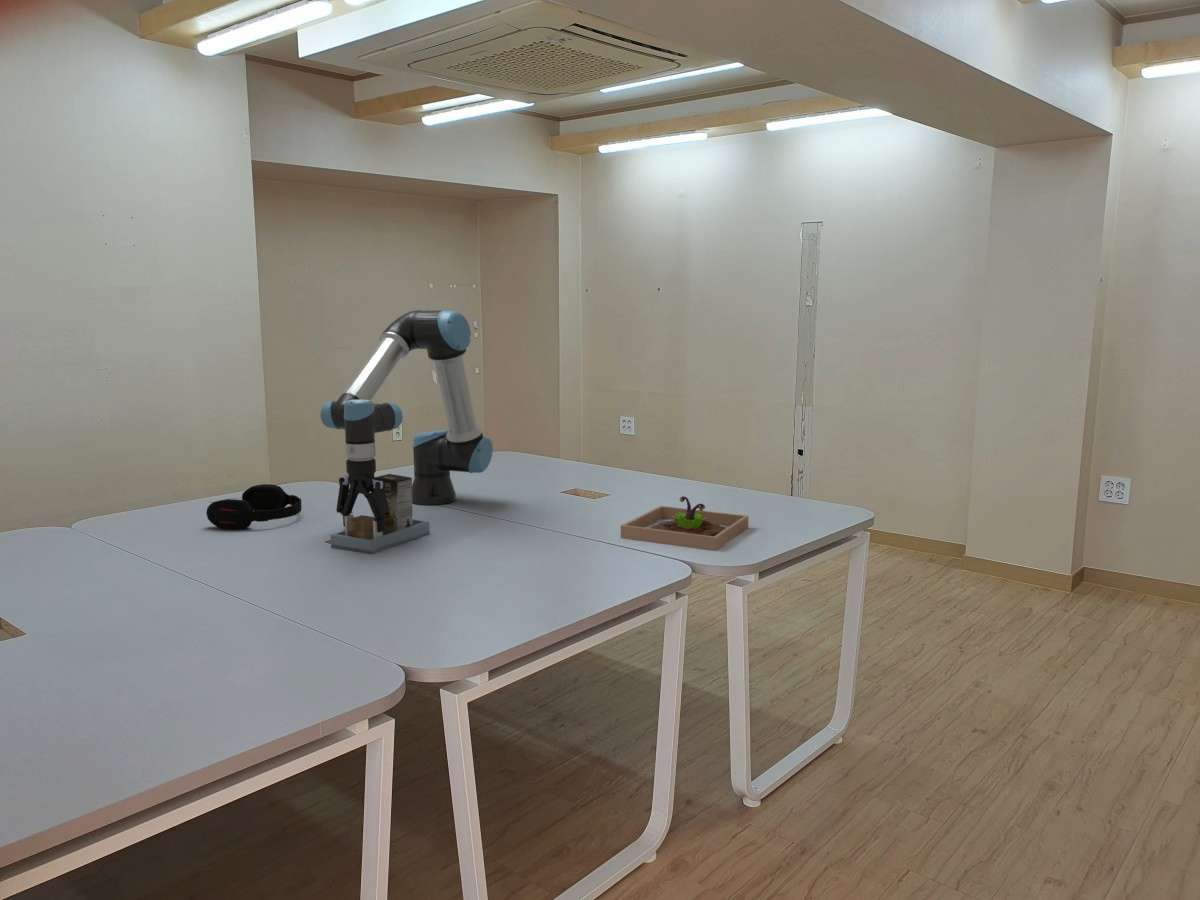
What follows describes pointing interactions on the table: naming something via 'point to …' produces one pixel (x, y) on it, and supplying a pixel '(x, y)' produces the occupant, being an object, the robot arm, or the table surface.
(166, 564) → the table surface
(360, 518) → the walnut block
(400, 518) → the coffee box
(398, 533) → the tray
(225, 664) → the table surface
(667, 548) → the table surface
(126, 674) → the table surface
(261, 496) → the headset
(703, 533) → the plant
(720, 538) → the plant saucer
